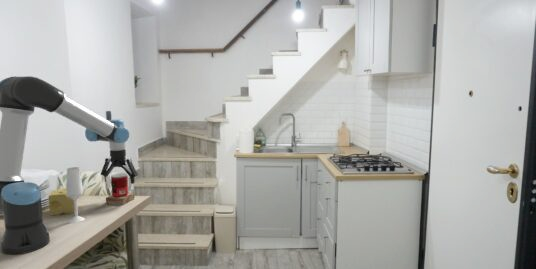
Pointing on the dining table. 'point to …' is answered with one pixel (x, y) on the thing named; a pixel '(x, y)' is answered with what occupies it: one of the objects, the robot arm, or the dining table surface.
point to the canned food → (119, 185)
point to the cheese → (60, 203)
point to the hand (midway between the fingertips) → (119, 188)
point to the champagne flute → (74, 190)
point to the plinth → (120, 199)
